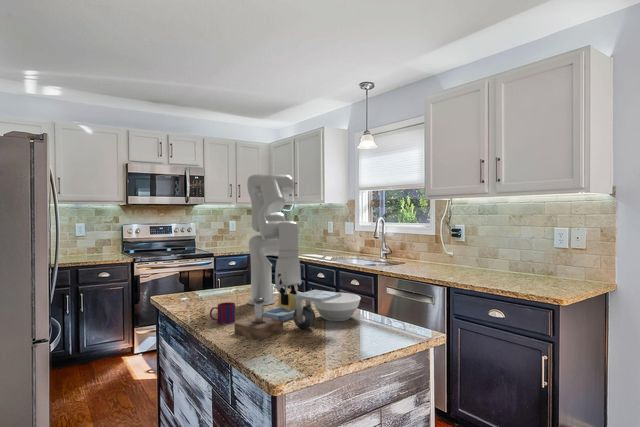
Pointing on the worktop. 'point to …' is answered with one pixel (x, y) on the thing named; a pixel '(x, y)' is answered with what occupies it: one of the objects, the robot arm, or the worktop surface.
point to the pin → (258, 310)
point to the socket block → (258, 328)
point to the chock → (291, 302)
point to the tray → (279, 314)
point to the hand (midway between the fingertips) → (288, 303)
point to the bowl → (338, 307)
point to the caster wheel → (310, 306)
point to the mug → (225, 313)
